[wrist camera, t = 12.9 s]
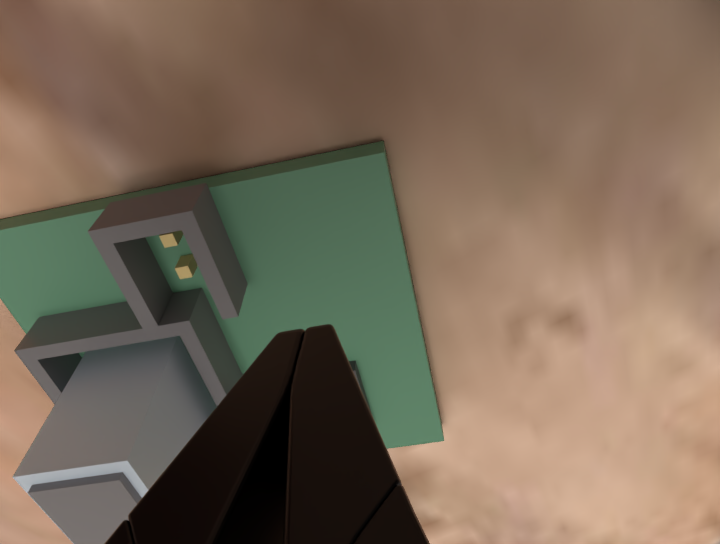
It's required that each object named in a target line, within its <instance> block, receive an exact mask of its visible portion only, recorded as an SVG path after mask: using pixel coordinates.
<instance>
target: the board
mask: <svg viewBox="0 0 720 544" xmlns="http://www.w3.org/2000/svg"><path fill="white" fill-rule="evenodd" d="M198 288H202V289H203V291H204V293H205V295H206V297H207V300H208V302H209V304H210V306H211V308H212V310H213V312H214V315H215V317H216V319H217V321H218V323H219V325H220V327H221V330H222V332H223V334H224V336H225V338H226V340H227V342H228V345H229V347H230V349H231V351H232V353H233V355H234V358H235V360H236V362H237V364H238V366H239V368H240V370H241V373H242V375H243V374H244V373H245V372H246V370H247V369H248V368H249V367H250V365H251V364H252V363H253V362H254V361H255V359H256V358H257V357H258V356H259V354H260V353H261V352H262V351H263V350H264V348H265V347H266V346H267V345H268V343H269V342H270V341H271V340H272V339H273V337H274V336H275V335H276V334H277V333H279V332H283V331H289V330H295V329H303V330H306V329H307V328H309V327H313V326H319V325H325V324H331V325H333V327H334V329H335V331H336V333H337V335H338V338H339V340H340V342H341V345H342V347H343V349H344V352H345V354H346V356H347V358H348V361H349V363H350V365H351V368H352V370H353V372H354V375H355V377H356V379H357V382H358V384H359V386H360V388H361V391H362V393H363V395H364V398H365V400H366V402H367V405H368V407H369V409H370V412H371V414H372V416H373V418H374V421H375V423H376V425H377V428H378V430H379V432H380V435H381V437H382V439H383V441H384V444H385V446H386V448H387V449H388V448H395V447H403V446H410V445H417V444H425V443H432V442H439V441H444V437H443V430H442V423H441V418H440V413H439V408H438V404H437V399H436V394H435V389H434V384H433V379H432V374H431V369H430V365H429V360H428V355H427V350H426V345H425V340H424V335H423V331H422V326H421V321H420V316H419V311H418V306H417V301H416V296H415V292H414V287H413V282H412V277H411V272H410V267H409V262H408V257H407V253H406V248H405V243H404V238H403V233H402V228H401V223H400V219H399V214H398V209H397V204H396V199H395V194H394V189H393V184H392V180H391V175H390V170H389V165H388V160H387V155H386V150H385V145H384V141H380V142H375V143H371V144H366V145H361V146H356V147H351V148H346V149H341V150H336V151H332V152H327V153H322V154H317V155H312V156H307V157H302V158H297V159H293V160H288V161H283V162H278V163H273V164H268V165H263V166H258V167H254V168H249V169H244V170H239V171H234V172H229V173H224V174H219V175H215V176H210V177H205V178H200V179H195V180H190V181H185V182H181V183H176V184H171V185H166V186H161V187H156V188H151V189H146V190H142V191H137V192H132V193H127V194H122V195H117V196H112V197H107V198H103V199H98V200H93V201H88V202H83V203H78V204H73V205H68V206H64V207H59V208H54V209H49V210H44V211H39V212H34V213H29V214H25V215H20V216H15V217H10V218H5V219H0V298H1V300H2V301H3V303H4V304H5V305H6V307H7V308H8V310H9V311H10V312H11V314H12V315H13V316H14V318H15V319H16V321H17V322H18V323H19V325H20V326H21V327H22V329H23V330H24V332H25V333H26V334H27V333H28V331H29V330H30V329H31V327H32V326H33V325H34V323H35V322H36V321H37V319H38V318H39V317H42V316H47V315H53V314H59V313H64V312H70V311H75V310H81V309H86V308H92V307H98V306H103V305H109V304H114V303H120V302H126V301H127V302H128V304H129V305H130V307H131V309H132V311H133V313H134V314H135V316H136V318H137V320H138V321H139V323H140V325H141V327H142V328H149V327H155V326H158V325H159V323H160V321H161V318H162V316H163V314H164V312H165V310H166V307H167V305H168V303H169V301H170V299H171V297H172V294H173V293H176V292H181V291H187V290H192V289H198ZM158 330H159V328H158ZM180 338H181V337H180ZM181 340H182V339H181ZM182 342H183V341H182ZM183 344H184V342H183ZM184 346H185V344H184ZM185 347H186V346H185ZM186 349H187V348H186ZM187 351H188V350H187ZM188 353H189V352H188ZM84 354H85V352H80V353H79V355H80V356H81V358H83V356H84ZM189 355H190V354H189ZM190 357H191V356H190ZM191 359H192V358H191ZM192 361H193V360H192ZM193 363H194V362H193ZM194 364H195V363H194ZM195 366H196V365H195ZM196 368H197V367H196ZM197 370H198V369H197ZM198 372H199V371H198ZM199 374H200V373H199ZM200 376H201V375H200ZM201 378H202V377H201ZM205 385H206V384H205ZM206 387H207V386H206ZM207 389H208V388H207ZM208 391H209V390H208ZM209 393H210V392H209ZM210 395H211V394H210ZM216 406H217V405H216Z"/></svg>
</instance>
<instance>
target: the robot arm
mask: <svg viewBox="0 0 720 544" xmlns="http://www.w3.org/2000/svg"><path fill="white" fill-rule="evenodd" d="M128 520H129V521H128ZM128 520H124V521H123V522H122V523H121V524H120V525H119V526H118V528H117V529H116V530H115V531H114V532H113V534H112V535H111V536H110V537H109V539H108V540H107V541H106V542H105V543H104V544H430V543H429V541H428V539H427V537H426V535H425V533H424V531H423V529H422V527H421V525H420V522H419V520H418V518H417V516H416V514H415V512H414V510H413V508H412V505H411V503H410V501H409V498H408V496H407V494H406V491H405V489H404V487H403V486H402V484H401V481H400V478H399V476H398V474H397V471H396V469H395V467H394V465H393V462H392V460H391V458H390V455H389V453H388V451H387V448H386V446H385V444H384V441H383V439H382V437H381V435H380V432H379V430H378V428H377V425H376V423H375V421H374V418H373V416H372V414H371V412H370V409H369V407H368V405H367V402H366V400H365V398H364V395H363V393H362V391H361V388H360V386H359V384H358V382H357V379H356V377H355V375H354V372H353V370H352V368H351V365H350V363H349V361H348V358H347V356H346V354H345V352H344V349H343V347H342V345H341V342H340V340H339V338H338V335H337V333H336V331H335V329H334V327H333V325H331V324H325V325H319V326H313V327H309V328H307V329H306V330H303V329H295V330H289V331H283V332H279V333H277V334H276V335H275V336H274V337H273V339H272V340H271V341H270V342H269V343H268V345H267V346H266V347H265V348H264V350H263V351H262V352H261V353H260V354H259V356H258V357H257V358H256V359H255V361H254V362H253V363H252V364H251V365H250V367H249V368H248V369H247V370H246V372H245V373H244V374H243V375H242V376H241V378H240V379H239V380H238V381H237V383H236V384H235V385H234V386H233V387H232V389H231V390H230V391H229V392H228V394H227V395H226V396H225V397H224V398H223V400H222V401H221V402H220V403H219V405H218V406H217V407H216V408H215V409H214V411H213V412H212V413H211V414H210V416H209V417H208V418H207V419H206V420H205V422H204V423H203V424H202V425H201V427H200V428H199V429H198V430H197V431H196V433H195V434H194V435H193V436H192V438H191V439H190V440H189V441H188V442H187V444H186V445H185V446H184V447H183V449H182V450H181V451H180V452H179V453H178V455H177V456H176V457H175V458H174V460H173V461H172V462H171V463H170V464H169V466H168V467H167V468H166V469H165V470H164V472H163V473H162V474H161V475H160V477H159V478H158V479H157V480H156V481H155V483H154V484H153V485H152V486H151V488H150V489H149V490H148V491H147V492H146V494H145V495H144V496H143V497H142V499H141V500H140V501H139V502H138V503H137V505H136V506H135V507H134V508H133V510H132V511H131V512H130V513H129V515H128Z"/></svg>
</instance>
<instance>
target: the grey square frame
mask: <svg viewBox="0 0 720 544" xmlns="http://www.w3.org/2000/svg"><path fill="white" fill-rule="evenodd" d="M158 328H159V330H158ZM175 336H180V337H181V339H182V341H183V342H184V344H185V346H186V348H187V350H188V352H189V354H190V356H191V358H192V360H193V362H194V363H195V365H196V367H197V369H198V371H199V373H200V375H201V377H202V379H203V381H204V383H205V384H206V386H207V388H208V390H209V392H210V394H211V396H212V398H213V400H214V402H215V404H216V405H217V406H218V405H219V403H220V402H221V401H222V400H223V398H224V397H225V396H226V395H227V394H228V392H229V391H230V390H231V389H232V387H233V386H234V385H235V384H236V383H237V381H238V380H239V379H240V378H241V376H242V373H241V370H240V368H239V366H238V364H237V362H236V360H235V358H234V355H233V353H232V351H231V349H230V347H229V345H228V342H227V340H226V338H225V336H224V334H223V332H222V330H221V327H220V325H219V323H218V321H217V319H216V317H215V315H214V312H213V310H212V308H211V306H210V304H209V302H208V300H207V297H206V295H205V293H204V291H203V289H202V288H198V289H192V290H187V291H181V292H176V293H173V294H172V297H171V299H170V301H169V303H168V305H167V307H166V310H165V312H164V314H163V316H162V318H161V321H160V323H159V325H158V326H155V327H149V328H142V327H141V325H140V323H139V321H138V320H137V318H136V316H135V314H134V313H133V311H132V309H131V307H130V305H129V304H128V302H127V301H126V302H120V303H114V304H109V305H103V306H98V307H92V308H86V309H81V310H75V311H70V312H64V313H59V314H53V315H47V316H42V317H39V318H38V319H37V321H36V322H35V323H34V325H33V326H32V327H31V329H30V330H29V331H28V333H27V334H26V335H25V337H24V338H23V339H22V341H21V342H20V344H19V345H18V346H17V348H16V349H15V350H14V351H15V352H16V354H17V355H18V356H19V358H20V359H21V360H22V362H23V363H24V364H25V366H26V367H27V368H28V370H29V371H30V372H31V374H32V375H33V376H34V378H35V379H36V380H37V382H38V383H39V384H40V386H41V387H42V388H43V390H44V391H45V392H46V393H47V395H48V396H49V397H50V399H51V400H52V401H53V403H54V404H56V402H57V400H58V399H59V397H60V395H61V393H62V392H63V390H64V388H65V387H66V385H67V383H68V381H69V380H70V378H71V376H72V375H73V373H74V371H75V369H76V368H77V366H78V364H79V363H80V361H81V359H82V358H81V356H80V355H79V353H80V352H86V351H92V350H98V349H104V348H110V347H116V346H122V345H127V344H133V343H139V342H145V341H151V340H157V339H163V338H169V337H175Z"/></svg>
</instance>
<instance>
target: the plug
mask: <svg viewBox="0 0 720 544" xmlns="http://www.w3.org/2000/svg"><path fill="white" fill-rule="evenodd" d="M216 407H217V406H216V404H215V402H214V400H213V398H212V396H211V395H210V393H209V391H208V389H207V387H206V385H205V383H204V381H203V379H202V378H201V376H200V374H199V372H198V370H197V368H196V366H195V364H194V363H193V361H192V359H191V357H190V355H189V353H188V351H187V349H186V347H185V346H184V344H183V342H182V340H181V338H180V336H175V337H169V338H163V339H157V340H151V341H145V342H139V343H133V344H127V345H122V346H116V347H110V348H104V349H98V350H92V351H86V352H85V354H84V356H83V358H82V359H81V361H80V363H79V364H78V366H77V368H76V369H75V371H74V373H73V375H72V376H71V378H70V380H69V381H68V383H67V385H66V387H65V388H64V390H63V392H62V393H61V395H60V397H59V399H58V400H57V402H56V404H55V405H54V407H53V409H52V411H51V412H50V414H49V416H48V417H47V419H46V421H45V422H44V424H43V426H42V428H41V429H40V431H39V433H38V434H37V436H36V438H35V440H34V441H33V443H32V445H31V446H30V448H29V450H28V452H27V453H26V455H25V457H24V458H23V460H22V462H21V464H20V465H19V467H18V469H17V470H16V472H15V474H14V475H13V478H14V479H15V480H16V481H17V483H18V484H19V485H20V486H21V487H22V488H23V489H24V490H25V491H26V492H27V493H28V495H29V496H30V497H31V498H32V499H33V500H34V501H35V502H36V503H37V504H38V505H39V506H40V508H41V509H42V510H43V511H44V512H45V513H46V514H47V515H48V516H49V517H50V518H51V520H52V521H53V522H54V523H55V524H56V525H57V526H58V527H59V528H60V529H61V530H62V532H63V533H64V534H65V535H66V536H67V537H68V538H69V539H70V540H71V541H72V542H73V543H74V544H104V543H105V542H106V541H107V540H108V539H109V537H110V536H111V535H112V534H113V532H114V531H115V530H116V529H117V528H118V526H119V525H120V524H121V523H122V522H123V521H124V520H128V515H129V513H130V512H131V511H132V510H133V508H134V507H135V506H136V505H137V503H138V502H139V501H140V500H141V499H142V497H143V496H144V495H145V494H146V492H147V491H148V490H149V489H150V488H151V486H152V485H153V484H154V483H155V481H156V480H157V479H158V478H159V477H160V475H161V474H162V473H163V472H164V470H165V469H166V468H167V467H168V466H169V464H170V463H171V462H172V461H173V460H174V458H175V457H176V456H177V455H178V453H179V452H180V451H181V450H182V449H183V447H184V446H185V445H186V444H187V442H188V441H189V440H190V439H191V438H192V436H193V435H194V434H195V433H196V431H197V430H198V429H199V428H200V427H201V425H202V424H203V423H204V422H205V420H206V419H207V418H208V417H209V416H210V414H211V413H212V412H213V411H214V409H215V408H216ZM128 521H129V520H128Z"/></svg>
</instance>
